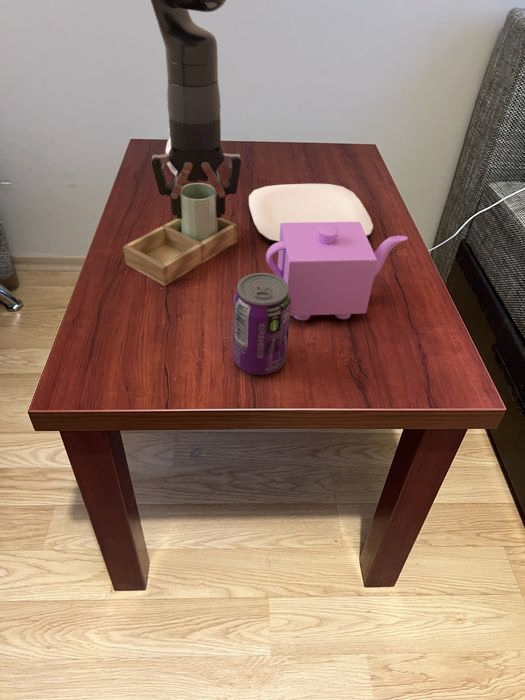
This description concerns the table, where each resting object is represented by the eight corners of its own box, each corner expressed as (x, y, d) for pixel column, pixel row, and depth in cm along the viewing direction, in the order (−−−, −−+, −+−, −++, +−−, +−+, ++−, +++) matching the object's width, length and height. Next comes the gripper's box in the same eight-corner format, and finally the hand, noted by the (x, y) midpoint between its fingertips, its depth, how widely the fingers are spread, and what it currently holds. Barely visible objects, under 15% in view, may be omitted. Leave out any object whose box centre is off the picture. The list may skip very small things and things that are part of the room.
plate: (381, 246, 95) (383, 237, 94) (259, 252, 92) (260, 243, 91) (348, 189, 111) (349, 181, 110) (243, 193, 108) (243, 185, 107)
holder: (164, 286, 84) (163, 268, 82) (125, 264, 88) (122, 246, 86) (237, 241, 94) (237, 224, 92) (199, 224, 98) (198, 206, 96)
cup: (201, 253, 90) (198, 204, 84) (175, 240, 93) (171, 191, 87) (224, 239, 94) (224, 190, 88) (199, 227, 96) (197, 179, 90)
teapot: (267, 324, 78) (271, 250, 70) (260, 283, 86) (263, 211, 77) (401, 320, 80) (421, 247, 72) (383, 280, 88) (400, 210, 79)
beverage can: (286, 379, 70) (293, 307, 62) (231, 377, 70) (231, 304, 62) (285, 343, 76) (291, 271, 67) (234, 341, 75) (234, 269, 67)
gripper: (143, 122, 75) (154, 228, 87) (246, 121, 77) (244, 226, 88) (145, 103, 81) (156, 206, 92) (241, 103, 82) (240, 204, 94)
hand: (199, 215), depth 90 cm, fingers closed on cup, 6 cm apart
